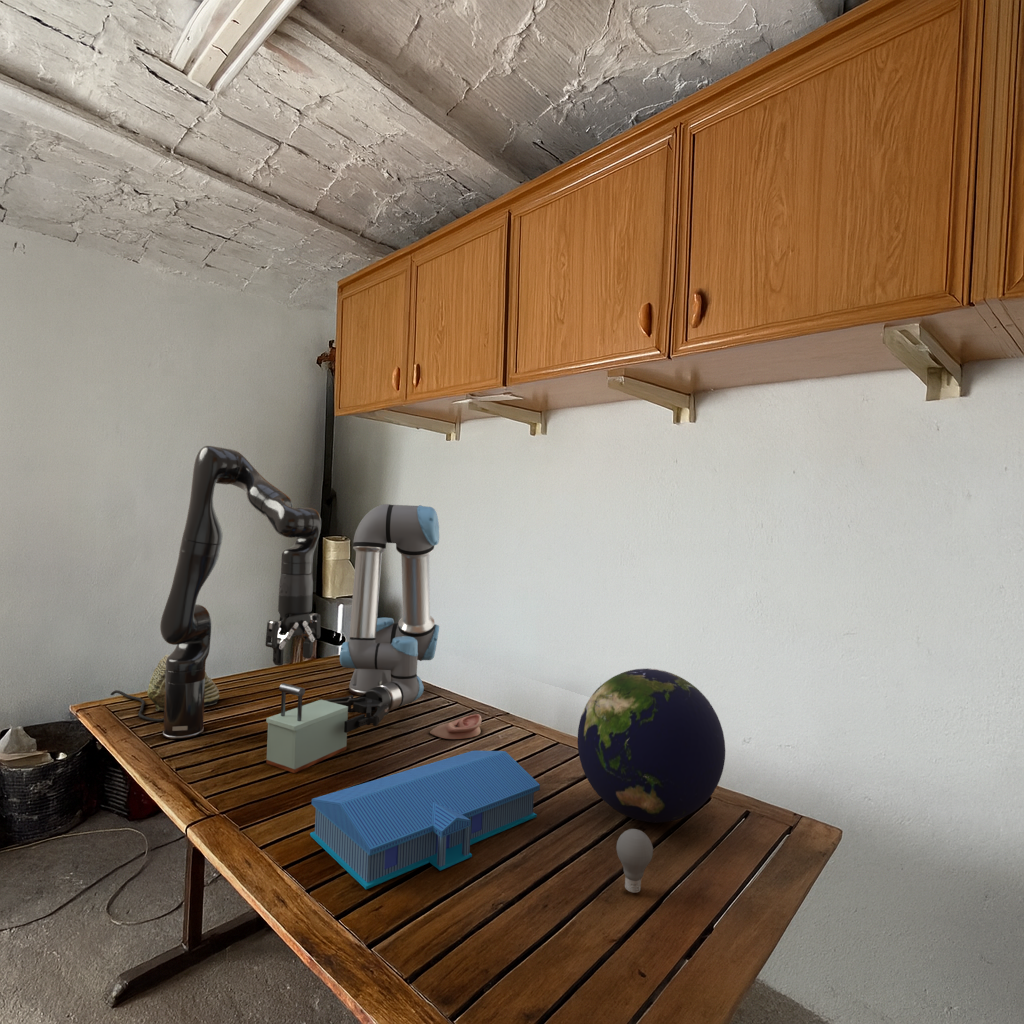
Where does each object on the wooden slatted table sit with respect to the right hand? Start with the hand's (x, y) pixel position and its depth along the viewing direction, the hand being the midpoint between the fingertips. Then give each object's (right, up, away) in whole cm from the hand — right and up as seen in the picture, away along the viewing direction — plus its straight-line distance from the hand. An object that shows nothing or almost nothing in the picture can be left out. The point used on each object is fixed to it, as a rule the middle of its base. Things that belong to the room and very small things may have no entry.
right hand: (325, 721), depth 158 cm
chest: (-3, -7, -4) cm, 9 cm away
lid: (-3, +3, -5) cm, 6 cm away
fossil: (-49, -4, +27) cm, 56 cm away
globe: (+75, -11, -26) cm, 80 cm away
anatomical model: (+31, -8, +15) cm, 36 cm away
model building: (+31, -9, -36) cm, 48 cm away
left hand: (-5, +17, -10) cm, 20 cm away
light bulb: (+67, -11, -53) cm, 86 cm away
